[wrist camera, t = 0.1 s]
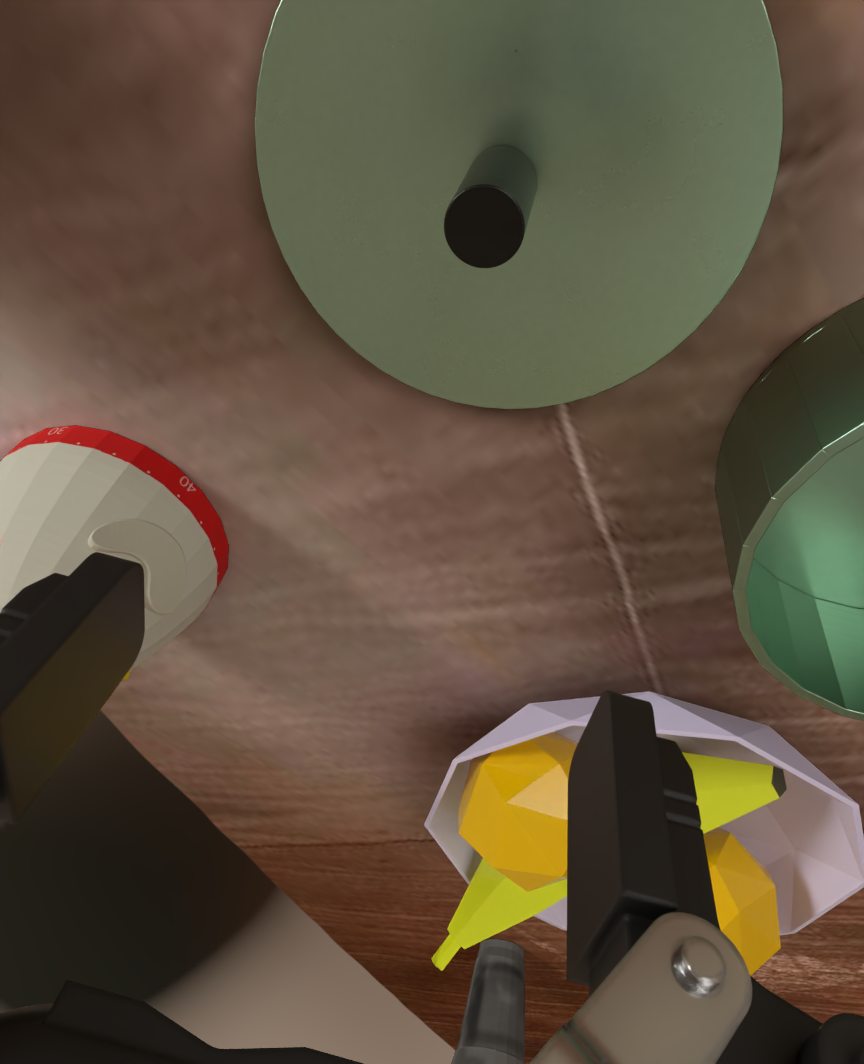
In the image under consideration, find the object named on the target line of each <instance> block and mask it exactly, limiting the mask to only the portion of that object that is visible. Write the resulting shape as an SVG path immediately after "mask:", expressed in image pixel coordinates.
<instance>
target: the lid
mask: <svg viewBox="0 0 864 1064" xmlns="http://www.w3.org/2000/svg"><path fill="white" fill-rule="evenodd" d="M783 129H784V127H783V83H782V76H781V69H780V62H779V55H778V48H777V43H776V40H775V36H774V33H773V29H772V26H771V22H770V19H769V16H768V12H767V9H766V5H765V2H764V0H281V2H280V4H279V6H278V8H277V10H276V13H275V15H274V19H273V22H272V25H271V29H270V32H269V35H268V38H267V42H266V45H265V48H264V51H263V57H262V63H261V68H260V74H259V80H258V85H257V94H256V111H255V141H256V159H257V167H258V173H259V179H260V185H261V190H262V196H263V200H264V203H265V207H266V210H267V214H268V217H269V221H270V224H271V228H272V230H273V233H274V235H275V238H276V240H277V243H278V245H279V247H280V250H281V252H282V255H283V257H284V259H285V261H286V263H287V265H288V267H289V269H290V270H291V272H292V274H293V276H294V278H295V280H296V281H297V283H298V285H299V287H300V288H301V290H302V291H303V293H304V294H305V295H306V297H307V298H308V300H309V301H310V303H311V304H312V305H313V307H314V308H315V310H316V311H317V312H318V314H319V315H320V316H321V317H322V318H323V319H324V320H325V322H326V323H327V324H328V325H329V326H330V327H331V328H332V330H333V331H334V332H335V333H336V334H337V335H338V336H339V337H340V338H341V339H342V340H344V341H345V342H346V343H347V344H348V345H349V346H350V347H351V348H352V349H353V350H354V351H356V352H357V353H358V354H359V355H361V356H362V357H363V358H365V359H366V360H367V361H369V362H370V363H372V364H373V365H374V366H376V367H377V368H378V369H380V370H381V371H383V372H385V373H387V374H388V375H390V376H392V377H394V378H395V379H397V380H399V381H401V382H402V383H404V384H406V385H409V386H411V387H413V388H416V389H418V390H420V391H422V392H425V393H427V394H429V395H433V396H436V397H439V398H443V399H446V400H449V401H452V402H456V403H461V404H467V405H472V406H478V407H484V408H499V409H526V408H540V407H546V406H552V405H559V404H565V403H568V402H572V401H575V400H579V399H583V398H586V397H590V396H593V395H595V394H598V393H600V392H603V391H605V390H608V389H610V388H612V387H615V386H617V385H620V384H622V383H623V382H625V381H627V380H629V379H631V378H632V377H634V376H636V375H638V374H640V373H641V372H643V371H645V370H647V369H648V368H650V367H651V366H652V365H654V364H655V363H657V362H658V361H659V360H661V359H662V358H663V357H665V356H666V355H668V354H669V353H670V352H672V351H673V350H674V349H675V348H676V347H677V346H679V345H680V344H681V343H682V342H683V341H684V340H685V339H686V338H687V337H688V336H690V335H691V334H692V333H693V332H694V331H695V330H696V329H697V328H698V327H699V326H700V325H701V324H702V322H703V321H704V320H705V319H706V318H707V317H708V316H709V314H710V313H711V312H712V311H713V310H714V309H715V307H716V306H717V305H718V304H719V303H720V301H721V300H722V298H723V297H724V295H725V294H726V293H727V291H728V290H729V288H730V287H731V285H732V284H733V282H734V281H735V279H736V278H737V276H738V275H739V273H740V271H741V269H742V268H743V266H744V264H745V262H746V260H747V258H748V256H749V254H750V252H751V250H752V249H753V247H754V245H755V243H756V240H757V238H758V235H759V233H760V230H761V227H762V225H763V222H764V219H765V217H766V214H767V212H768V209H769V206H770V202H771V198H772V194H773V190H774V186H775V182H776V178H777V174H778V170H779V162H780V154H781V146H782V137H783Z"/></svg>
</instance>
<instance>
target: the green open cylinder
mask: <svg viewBox="0 0 864 1064" xmlns="http://www.w3.org/2000/svg"><path fill="white" fill-rule="evenodd" d="M715 492H716V497H717V503H718V509H719V515H720V521H721V527H722V533H723V539H724V544H725V550H726V556H727V562H728V568H729V574H730V579H731V585H732V591H733V597H734V603H735V609H736V614H737V620H738V626H739V630H740V633H741V634H742V636H743V637H744V639H745V641H746V642H747V644H748V646H749V647H750V649H751V650H752V652H753V654H754V655H755V657H756V659H757V660H758V662H759V663H760V665H761V666H762V667H763V668H764V669H766V670H767V671H768V672H769V673H770V674H772V675H773V676H774V677H775V678H776V679H778V680H779V681H780V682H781V683H782V684H784V685H785V686H786V687H787V688H788V689H790V690H791V691H792V692H793V693H795V694H796V695H798V696H800V697H802V698H804V699H806V700H809V701H811V702H813V703H815V704H817V705H819V706H821V707H823V708H825V709H827V710H830V711H832V712H834V713H836V714H838V715H841V716H845V717H849V718H853V719H857V720H861V721H864V298H863V299H861V300H859V301H857V302H855V303H853V304H851V305H849V306H847V307H846V308H844V309H842V310H840V311H838V312H837V313H835V314H834V315H832V316H831V317H829V318H827V319H826V320H824V321H823V322H821V323H820V324H818V325H817V326H815V327H814V328H812V329H811V330H809V331H808V332H807V333H806V334H804V335H803V336H802V337H801V338H800V339H798V340H797V341H796V342H795V343H793V344H792V345H791V346H790V347H788V348H787V349H786V350H785V351H784V352H783V353H782V354H781V355H780V356H779V357H778V358H777V359H776V360H775V361H774V362H773V363H772V364H771V365H770V366H769V367H768V368H767V369H766V370H765V371H764V372H763V373H762V375H761V376H760V377H759V378H758V380H757V381H756V382H755V383H754V385H753V386H752V387H751V389H750V390H749V391H748V392H747V394H746V395H745V397H744V398H743V400H742V402H741V403H740V405H739V407H738V408H737V410H736V412H735V413H734V415H733V417H732V419H731V421H730V424H729V426H728V428H727V431H726V433H725V435H724V438H723V441H722V445H721V449H720V452H719V456H718V460H717V470H716V484H715Z"/></svg>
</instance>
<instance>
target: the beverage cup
mask: <svg viewBox="0 0 864 1064" xmlns="http://www.w3.org/2000/svg"><path fill="white" fill-rule="evenodd" d="M524 1031H525V968H524V950H523V949H522V948H521V947H520V946H518V945H516V944H514V943H512V942H509V941H506V940H500V939H488V940H484V941H482V942H481V943H480V948H479V952H478V956H477V959H476V962H475V967H474V971H473V976H472V981H471V985H470V990H469V995H468V1000H467V1004H466V1009H465V1014H464V1018H463V1023H462V1028H461V1032H460V1037H459V1042H458V1047H457V1050H456V1051H455V1053H454V1057H453V1060H452V1063H451V1064H524Z"/></svg>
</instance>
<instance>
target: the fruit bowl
mask: <svg viewBox="0 0 864 1064" xmlns="http://www.w3.org/2000/svg"><path fill="white" fill-rule="evenodd" d="M622 695H626V696H630V697H634V698H637V699H641V700H645V701H649V702H650V703H651V704H652V707H653V712H654V720H655V728H656V736H657V737H661V738H664V739H668V740H672V741H675V742H676V743H677V745H678V747H679V748H680V750H681V752H682V753H683V755H684V757H685V759H686V760H687V762H688V764H689V765H690V767H691V769H692V771H693V777H694V783H695V789H696V795H697V802H696V805H698V806H699V812H700V818H701V827H700V828H701V829H702V830H703V835H704V841H705V847H706V853H707V859H708V865H709V870H710V876H711V882H712V888H713V894H714V900H715V906H716V911H717V917H718V922H719V926H720V929H721V931H722V932H723V933H724V934H725V935H726V936H727V937H728V938H729V939H730V940H731V941H732V943H733V944H734V945H735V947H736V948H737V949H738V951H739V952H740V954H741V956H742V957H743V959H744V961H745V963H746V966H747V968H748V971H749V974H750V976H751V975H752V974H753V973H754V972H755V971H756V970H757V969H758V968H759V967H760V966H762V965H763V964H764V963H765V962H766V961H767V960H768V959H769V958H770V957H771V956H773V955H774V954H775V953H776V952H777V951H778V950H779V949H780V948H781V946H780V935H787V934H795V933H796V932H798V931H799V930H801V929H802V928H804V927H805V926H807V925H808V924H810V923H811V922H813V921H814V920H816V919H817V918H819V917H820V916H822V915H823V914H825V913H826V912H827V911H829V910H830V909H832V908H833V907H835V906H836V905H838V904H839V903H841V902H842V901H844V900H845V899H847V898H848V897H850V896H851V895H853V894H854V893H856V892H857V891H859V890H860V889H862V888H863V887H864V837H863V830H862V823H861V817H860V810H859V805H858V804H857V803H856V802H855V801H854V800H852V799H851V798H850V797H849V796H848V795H847V794H846V793H844V792H843V791H842V790H841V789H840V788H839V787H838V786H837V785H835V784H834V783H833V782H832V781H831V780H830V779H829V778H827V777H826V776H825V775H824V774H823V773H822V772H821V771H820V770H818V769H817V768H816V767H815V766H814V765H813V764H812V763H810V762H809V761H808V760H807V759H806V758H805V757H804V756H803V755H801V754H800V753H799V752H798V751H797V750H796V749H795V748H793V747H792V746H791V745H790V744H789V743H788V742H787V741H786V740H784V739H783V738H782V737H781V736H780V735H779V734H778V733H776V732H775V731H774V730H773V729H772V728H771V727H770V726H768V725H765V724H761V723H758V722H754V721H751V720H747V719H744V718H740V717H737V716H733V715H730V714H726V713H723V712H720V711H716V710H713V709H709V708H706V707H702V706H699V705H695V704H692V703H688V702H685V701H681V700H678V699H674V698H671V697H668V696H664V695H661V694H657V693H654V692H650V691H647V692H638V693H628V694H622ZM600 697H601V696H598V697H588V698H579V699H569V700H559V701H549V702H539V703H529V704H527V705H526V706H525V707H523V708H522V709H521V710H519V711H518V712H517V713H515V714H514V715H512V716H511V717H510V718H508V719H507V720H506V721H504V722H503V723H502V724H500V725H499V726H497V727H496V728H495V729H493V730H492V731H491V732H489V733H488V734H487V735H485V736H484V737H482V738H481V739H480V740H478V741H477V742H476V743H474V744H473V745H472V746H470V747H469V748H467V749H466V750H465V751H463V752H462V753H461V754H459V755H458V756H457V757H456V758H455V759H454V760H453V761H452V763H451V765H450V768H449V770H448V772H447V774H446V777H445V779H444V781H443V783H442V786H441V788H440V790H439V792H438V795H437V797H436V799H435V801H434V804H433V806H432V808H431V810H430V812H429V815H428V817H427V819H426V821H425V824H424V826H425V827H426V828H427V830H428V831H429V832H430V834H431V835H432V836H433V838H434V839H435V840H436V842H437V843H438V844H439V846H440V847H441V848H442V850H443V851H444V852H445V854H446V855H447V856H448V858H449V859H450V860H451V862H452V863H453V864H454V866H455V867H456V869H457V870H458V871H459V873H460V874H461V875H462V877H463V878H464V879H465V881H466V882H467V883H468V885H469V886H468V888H467V890H466V892H465V894H464V896H463V898H462V900H461V902H460V904H459V906H458V908H457V910H456V912H455V914H454V916H453V918H452V920H451V922H450V924H449V926H448V928H447V929H448V931H449V933H450V935H449V936H448V937H447V939H446V940H445V941H444V942H443V944H442V945H441V946H440V948H439V949H438V950H437V952H436V953H435V954H434V956H433V957H432V958H431V960H432V962H433V963H434V965H435V966H436V967H438V968H439V969H440V970H441V971H443V969H444V968H445V967H446V965H447V964H448V963H449V961H450V960H451V959H452V958H453V956H454V955H455V954H456V952H457V951H458V950H459V948H460V947H463V948H464V949H466V948H468V947H470V946H472V945H474V944H477V943H479V942H481V941H483V940H485V939H487V938H489V937H491V936H493V935H495V934H497V933H499V932H501V931H503V930H505V929H507V928H509V927H511V926H513V925H515V924H518V923H520V922H522V921H524V920H526V919H528V918H530V917H532V916H534V917H536V918H539V919H541V920H543V921H545V922H547V923H549V924H551V925H553V926H556V927H558V928H560V929H562V930H566V931H567V829H568V777H569V771H570V766H571V761H572V758H573V754H574V751H575V749H576V747H577V744H578V742H579V740H580V738H581V736H582V734H583V732H584V730H585V728H586V726H587V723H588V721H589V719H590V717H591V715H592V713H593V711H594V709H595V707H596V705H597V703H598V700H599V698H600Z"/></svg>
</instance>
